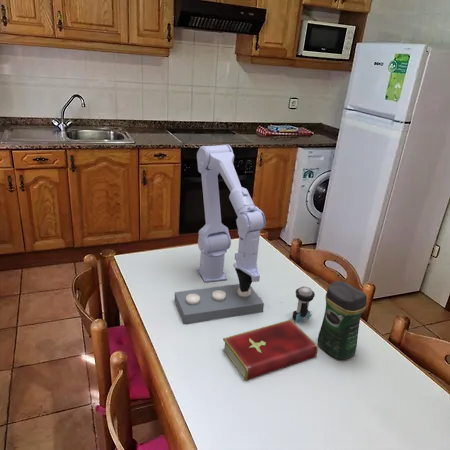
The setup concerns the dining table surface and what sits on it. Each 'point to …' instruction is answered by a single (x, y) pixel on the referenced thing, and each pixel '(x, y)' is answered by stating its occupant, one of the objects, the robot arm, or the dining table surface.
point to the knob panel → (217, 304)
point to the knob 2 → (243, 293)
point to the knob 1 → (192, 299)
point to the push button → (303, 304)
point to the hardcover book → (269, 348)
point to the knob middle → (219, 295)
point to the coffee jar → (341, 320)
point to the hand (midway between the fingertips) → (244, 290)
